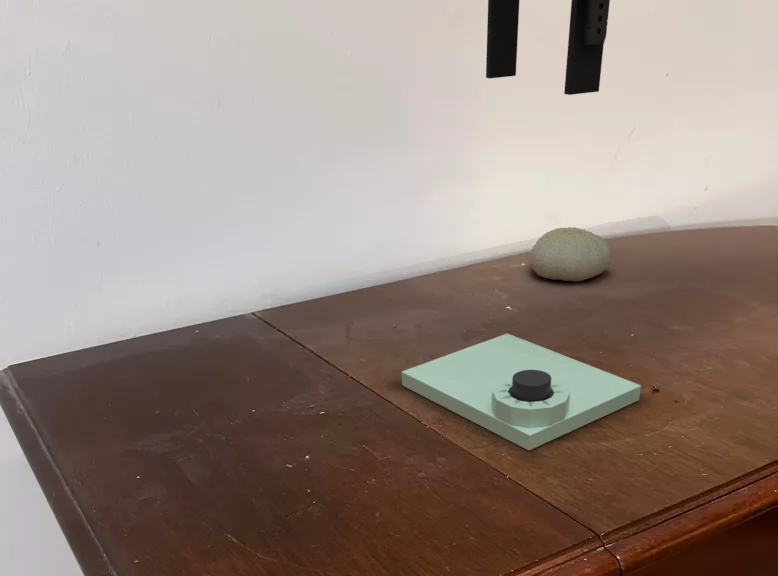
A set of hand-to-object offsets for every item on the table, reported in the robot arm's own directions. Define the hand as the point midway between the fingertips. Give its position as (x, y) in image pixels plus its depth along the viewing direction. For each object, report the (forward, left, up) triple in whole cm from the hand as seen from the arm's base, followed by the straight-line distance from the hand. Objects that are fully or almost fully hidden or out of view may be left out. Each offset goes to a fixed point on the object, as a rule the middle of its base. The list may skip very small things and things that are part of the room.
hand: (538, 84), depth 70 cm
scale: (-10, +11, -22) cm, 26 cm away
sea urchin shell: (+9, -16, -22) cm, 29 cm away
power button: (-15, +14, -19) cm, 28 cm away
